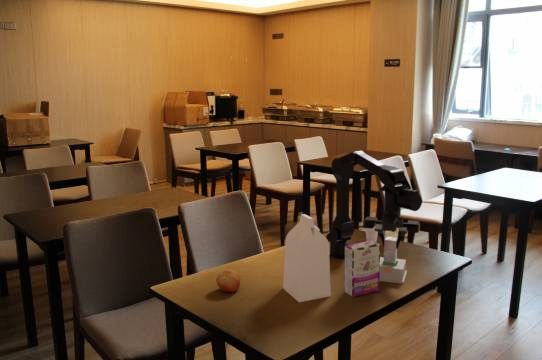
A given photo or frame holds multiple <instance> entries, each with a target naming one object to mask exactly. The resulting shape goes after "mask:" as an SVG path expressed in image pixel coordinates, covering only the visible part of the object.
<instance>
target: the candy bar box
mask: <svg viewBox="0 0 542 360" xmlns="http://www.w3.org/2000/svg"><path fill="white" fill-rule="evenodd" d="M380 257H381V244H380V243H379V242H377V241H376V242H374V241H367V240H365V241H361V242H358V243H352V244H348V245H347V246H345V259H344V293H345V294H347V295H348V296H350V297H352V298H356V297H359V296H364V295H367V294H372V293H374V292H375V293H376V292H379V291H380V281H379V278H380Z"/></svg>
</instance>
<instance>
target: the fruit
mask: <svg viewBox="0 0 542 360" xmlns="http://www.w3.org/2000/svg"><path fill="white" fill-rule="evenodd" d="M215 282H216V284H217V286H218V288H219V289H220V290H221V292H226V293H235V292H237V291H239V288H240V285H241V276H240V274H239V273H238V270H236V269H234V268H225V269H223V270H222V271H220V272H219V273H218V275H217V276H216V278H215Z"/></svg>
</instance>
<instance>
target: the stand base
mask: <svg viewBox="0 0 542 360" xmlns="http://www.w3.org/2000/svg"><path fill="white" fill-rule="evenodd" d="M383 261H384V256H383V257H382V256H380V278H379V282H386V283H393V284H394V283H395V284H401V285H404V284H405V282H406V281H405V280H406V278H407V274H408V270H406V269H407V266H406V265H407V259H402V258H397V263H396V266H391V265H384V264H383Z"/></svg>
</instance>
